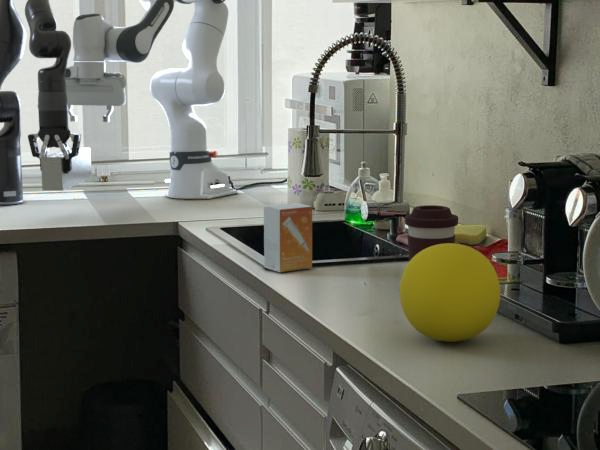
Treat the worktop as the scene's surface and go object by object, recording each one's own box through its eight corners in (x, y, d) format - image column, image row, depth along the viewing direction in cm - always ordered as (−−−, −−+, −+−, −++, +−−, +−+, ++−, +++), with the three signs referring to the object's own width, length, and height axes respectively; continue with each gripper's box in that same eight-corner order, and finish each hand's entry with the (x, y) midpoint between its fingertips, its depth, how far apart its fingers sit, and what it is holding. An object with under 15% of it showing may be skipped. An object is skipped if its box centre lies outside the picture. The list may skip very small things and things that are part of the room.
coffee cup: (400, 280, 202) (400, 204, 200) (450, 279, 203) (451, 203, 201) (409, 292, 193) (410, 212, 190) (462, 291, 193) (463, 211, 191)
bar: (62, 190, 271) (60, 157, 270) (42, 190, 272) (40, 157, 270) (91, 177, 297) (90, 147, 296) (73, 177, 298) (72, 147, 296)
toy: (466, 322, 171) (468, 232, 169) (517, 346, 157) (519, 249, 155) (383, 332, 166) (383, 239, 164) (428, 358, 152) (429, 257, 150)
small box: (280, 273, 210) (279, 209, 208) (263, 267, 216) (262, 205, 213) (313, 268, 215) (312, 205, 213) (296, 263, 220) (295, 202, 218)
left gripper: (84, 107, 275) (87, 171, 278) (31, 107, 276) (34, 171, 279) (75, 109, 267) (78, 175, 270) (21, 109, 269) (24, 174, 272)
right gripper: (128, 72, 295) (129, 122, 297) (58, 72, 297) (58, 120, 298) (122, 72, 288) (123, 122, 290) (50, 71, 290) (51, 121, 292)
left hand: (56, 172), depth 275 cm, fingers closed on bar, 5 cm apart
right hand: (89, 121), depth 294 cm, fingers open, 8 cm apart
